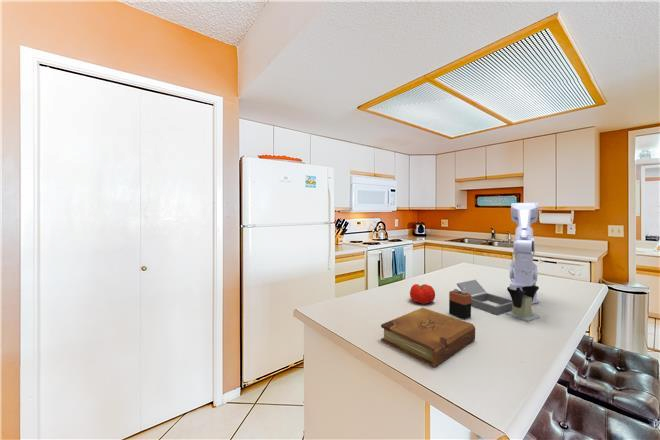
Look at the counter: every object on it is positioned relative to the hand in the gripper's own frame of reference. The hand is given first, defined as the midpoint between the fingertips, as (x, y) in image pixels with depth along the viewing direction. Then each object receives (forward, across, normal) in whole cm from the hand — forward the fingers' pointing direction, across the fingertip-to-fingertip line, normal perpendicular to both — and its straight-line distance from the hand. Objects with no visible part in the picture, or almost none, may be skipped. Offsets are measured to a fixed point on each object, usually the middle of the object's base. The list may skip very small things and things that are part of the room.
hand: (522, 305), depth 102 cm
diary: (+5, +47, -4) cm, 47 cm away
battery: (+4, +21, -12) cm, 24 cm away
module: (+4, 0, 0) cm, 4 cm away
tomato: (+4, +22, -30) cm, 37 cm away
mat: (+4, 0, 0) cm, 4 cm away
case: (+4, +1, -14) cm, 15 cm away
